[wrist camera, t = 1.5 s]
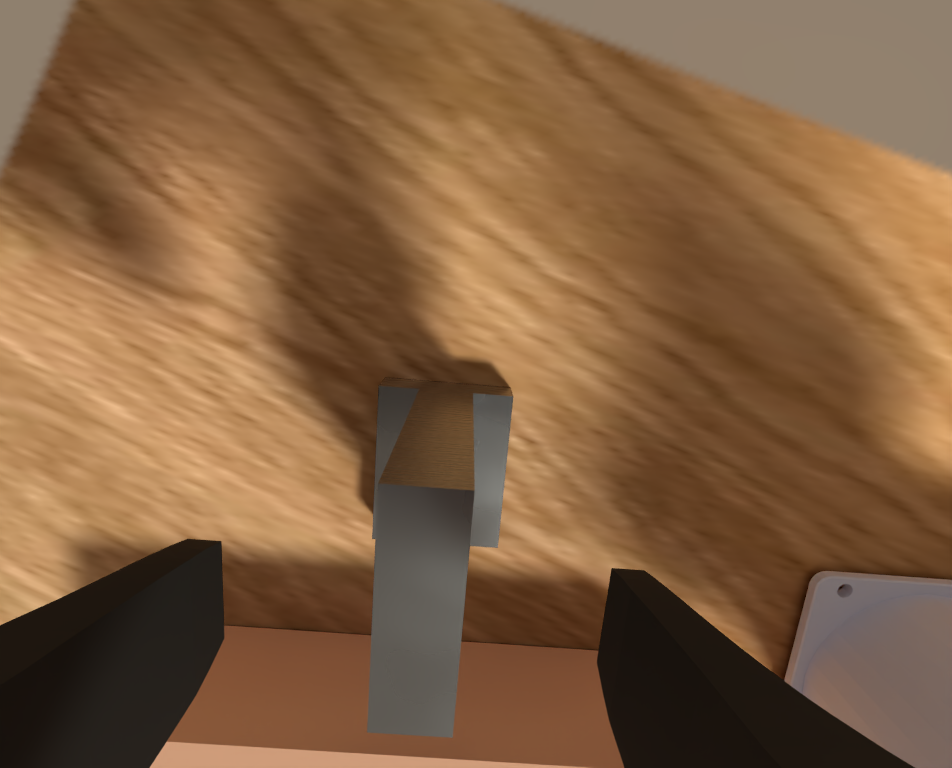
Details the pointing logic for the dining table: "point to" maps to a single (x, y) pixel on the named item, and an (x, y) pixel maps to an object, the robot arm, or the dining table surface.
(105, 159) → the dining table surface
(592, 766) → the holder block
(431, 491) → the brushed metal prism
